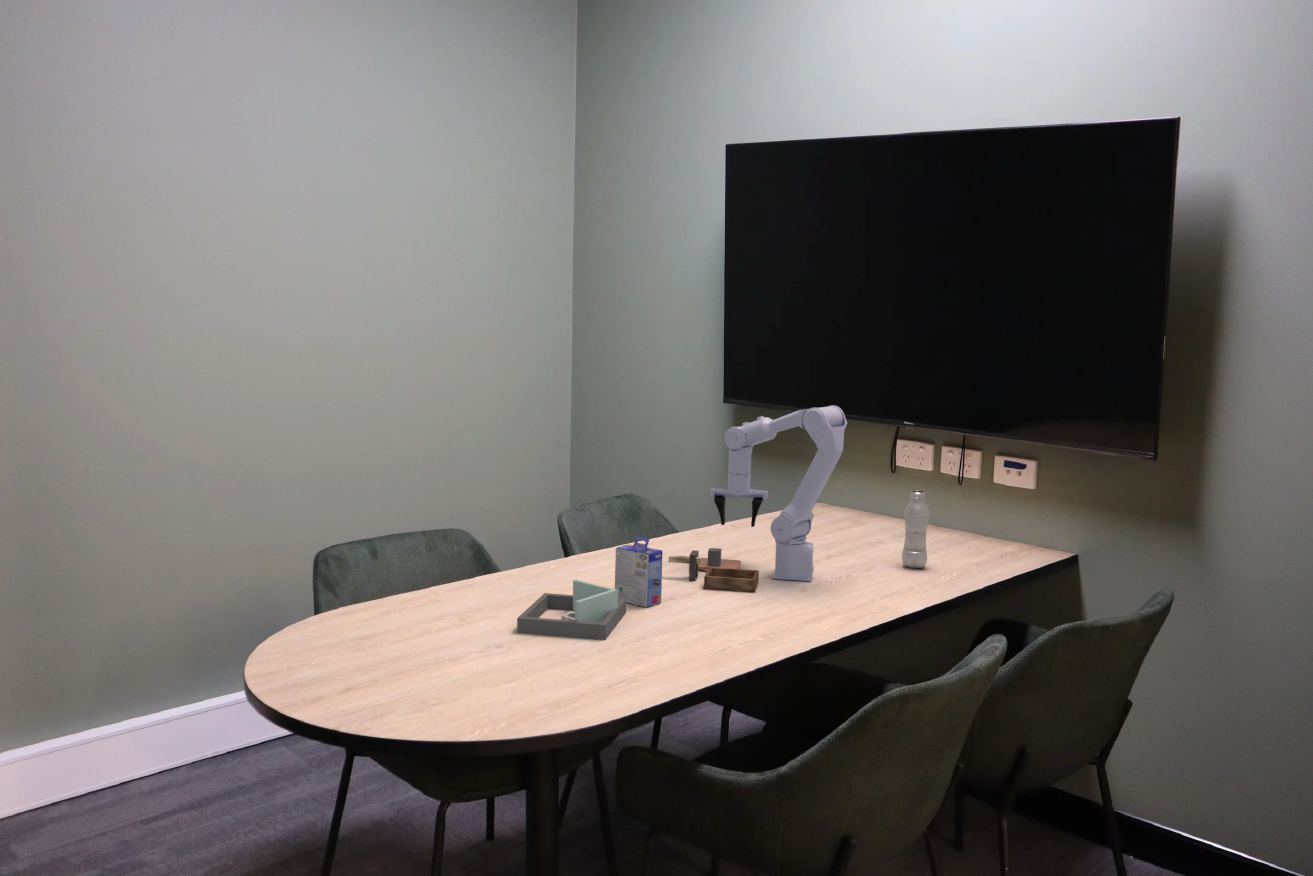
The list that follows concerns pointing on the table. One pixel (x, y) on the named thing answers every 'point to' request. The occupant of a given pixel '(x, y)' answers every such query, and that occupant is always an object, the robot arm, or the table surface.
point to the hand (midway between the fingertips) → (738, 525)
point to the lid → (717, 561)
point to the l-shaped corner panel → (591, 602)
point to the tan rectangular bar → (683, 559)
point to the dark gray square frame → (567, 628)
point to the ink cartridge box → (639, 573)
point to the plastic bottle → (915, 531)
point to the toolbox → (725, 577)
